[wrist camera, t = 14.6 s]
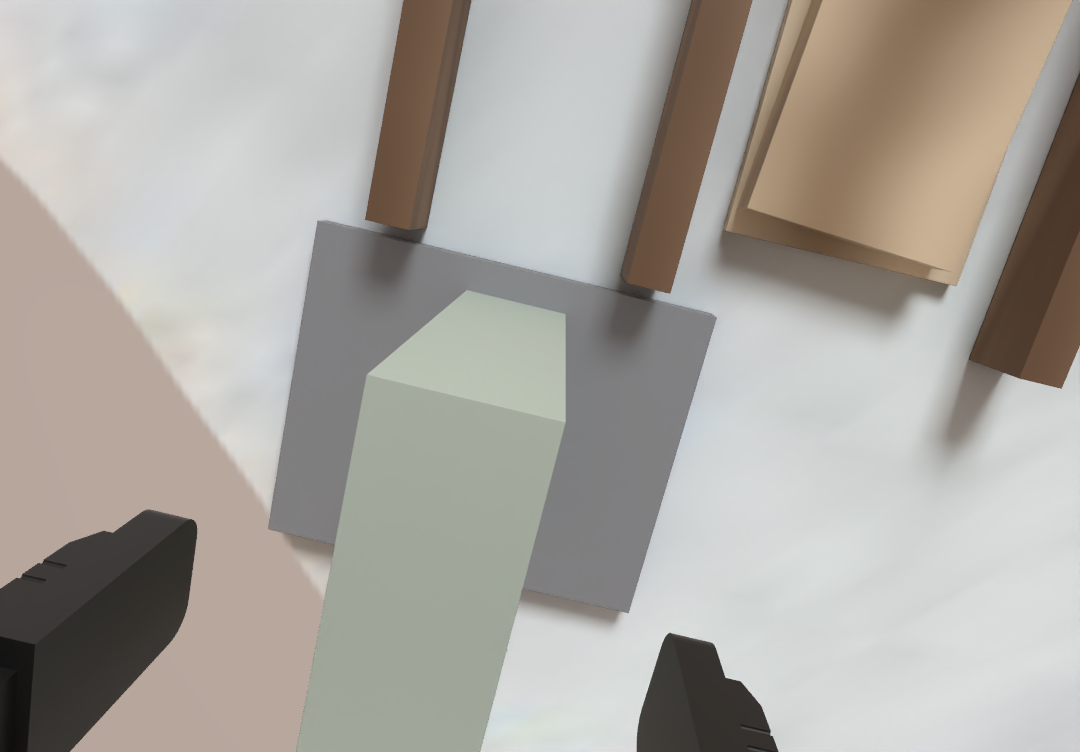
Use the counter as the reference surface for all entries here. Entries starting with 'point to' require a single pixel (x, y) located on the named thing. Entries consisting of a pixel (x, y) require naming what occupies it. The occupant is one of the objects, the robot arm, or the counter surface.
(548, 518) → the rubber mat
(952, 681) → the counter surface
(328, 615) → the pale green block
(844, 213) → the upper offcut
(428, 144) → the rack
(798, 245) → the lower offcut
